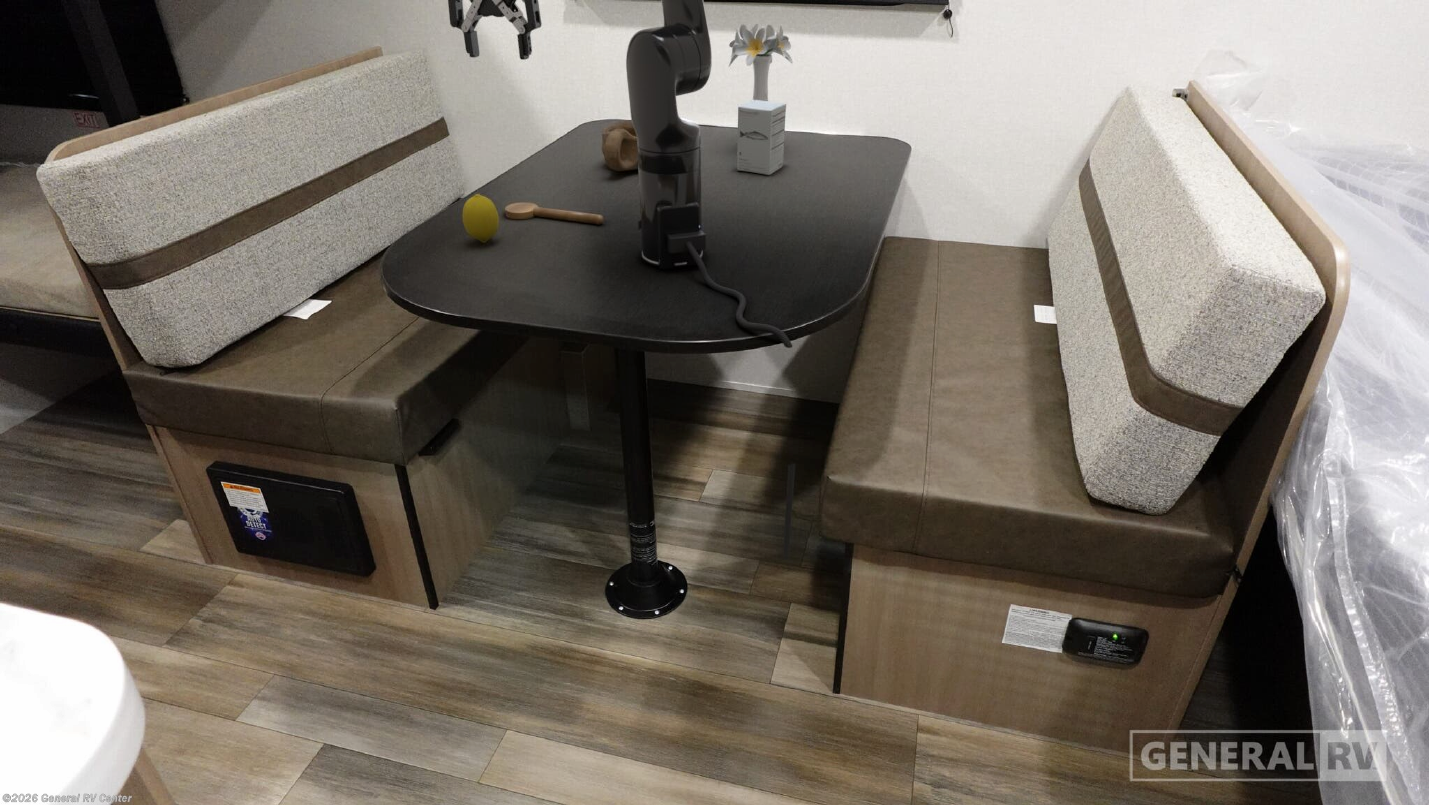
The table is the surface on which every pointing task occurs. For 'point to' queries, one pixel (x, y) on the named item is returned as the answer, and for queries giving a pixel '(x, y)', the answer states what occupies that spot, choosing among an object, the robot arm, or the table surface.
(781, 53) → the flower vase
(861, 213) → the table surface
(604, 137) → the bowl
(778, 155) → the white packaging box
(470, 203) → the lemon
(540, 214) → the spoon
